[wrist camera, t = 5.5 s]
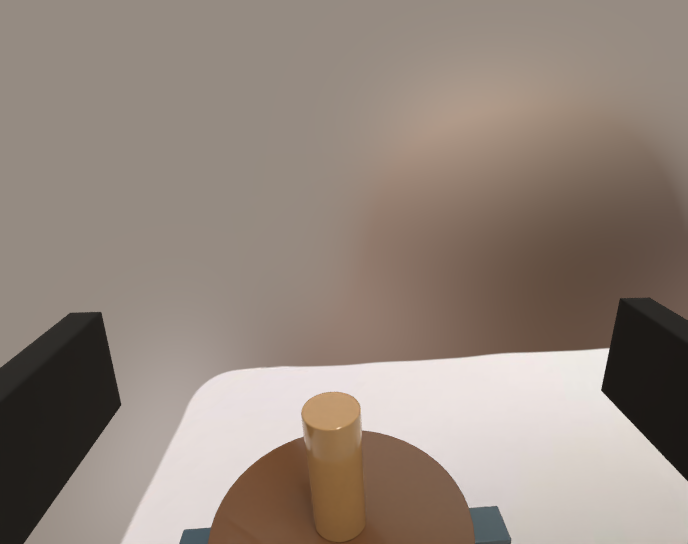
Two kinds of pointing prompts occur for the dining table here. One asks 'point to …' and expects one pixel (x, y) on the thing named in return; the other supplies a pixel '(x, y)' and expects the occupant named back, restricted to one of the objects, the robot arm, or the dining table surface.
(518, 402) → the dining table surface
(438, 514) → the lid
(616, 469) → the dining table surface
